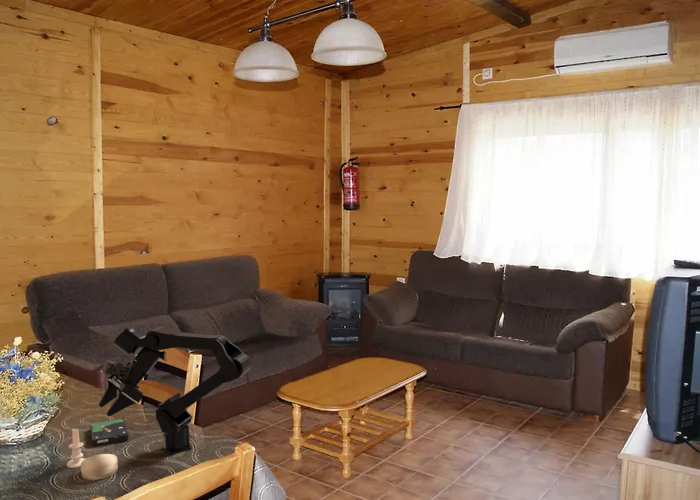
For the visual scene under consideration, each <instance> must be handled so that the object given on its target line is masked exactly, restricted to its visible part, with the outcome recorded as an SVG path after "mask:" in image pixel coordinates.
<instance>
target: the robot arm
mask: <svg viewBox="0 0 700 500" xmlns="http://www.w3.org/2000/svg"><path fill="white" fill-rule="evenodd" d="M113 345H114V346H115V347H117V348H118V349H119V350H120V351H122V352H123V353H124V354H126V355H127V356H129V357H131V356H135V357H134V358H133V359H132V360H131V361H130V360H127V361H126V362H125V364H124V363H123V362H122V361H121V362H119V361H114V360H109V359H106V360H105V362H104V365H103V367H102V370H101V371H102V372H103V373H104V374H106V375H105V377H106V378H105V381H106V388H105V391H104V392H103V395H102V397H101V399H100V401H99V403H98V406H99V407H100V408H103V407H105V406H107V405H108V404H109V403H111V402H112V401H113V402H112V404H110V407H109V409H108V410H107V412H106V413H105V414H106V416H107V417H111V416H113V415H115V414H118V412H121V411H123V410H124V409H126V408H129V407H130V406H133V405H136V404H137V403H138V404H140V402H141V401H142V400H143V399H144V392H142V391H141V390H140V389H139V388H140V387H139V385H140V383H141V382H142V381H143V379H144V378H145V379H147V378H148V377H149V376H150V375H149V372H150V371H151V370H152V368H153V367H154V366H155V365H156V364H157V362H158V361H159V360H162V361H163V362H164V363H167V362H168V359H167V352H166V351H163V350H168V349H174V348H175V349H189V350H201V351H211V352H212V354H213V355H214V357H215V359H216V361H217V364H218V365H219V368H218V370H217V371H216V372H215V373H214V374H212V375H211V376H210V377H209V378H207V379H205V380H204V381H202V382H201V383H200V384H198V385H197V386H196V387H194V388H192V389H191V390H189V391H187V393H185V394H183V395H181V393H180V392H179V391H178V392H176V393H175V394H173V395H172V396H170V397H168V398H167V399H166V400H164V401H162V402H160V403H159V404H158V405H157V407H158V408H157V409H156V410H155V419H156V421H157V422H158V425H159V428H160V430H161V432H162V447H163V448H164V449H165V450H166V451H167V453H169V454H170V455H172V454H176V453H179V452H180V453H181V452H185V451H187V450H188V451H189V450H191V449H192V447H193V446H192V445H191V443H190V429H189V428H190V426H189V425H188V424H190V423H192V420H193V415H192V414H191V413H190V412H189V411H188V410H189V409H190V408H191V407H192V405H194V404H196V402H198V401H199V400H201V399H202V398H204V397H205V396H207V395H208V394H210V393H212V392H213V391H214V390H216V389H217V388H219V387H221V385H225V384H227V383H231V382H234V380H235V381H236V380H238V379H239V378H241V377H242V376H243V375H245V374H246V373H247V372H249V371H250V370H251V368H252V360H251V358H250V356H249V355H248V354H246V353H245V352H243V351H242V349H241V348H240V347H238V346H237V345H236V344H234V343H232V342H231V341H229V338H227V337H226V336H225V335H222V334H217V335H216V334H203V333H190V332H181V331H178V330H177V329H175V328H171V327H168V326H165V325H163V326H159V327H157V328H155V329H152V330H149V331H148V332H147V333H146V334H145V335H141V334H140V333H139V332H137V331H136V330H135V329H134V328H133V327H131V326H127V327H125V328H124V330H123V331H122V332H120V333H119V334H118V336H117V337H115V339H114V342H113Z"/></svg>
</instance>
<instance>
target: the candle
mask: <svg viewBox="0 0 700 500" xmlns="http://www.w3.org/2000/svg"><path fill="white" fill-rule="evenodd" d="M71 430H72V443H70V444H69V445H68V448H69V449H72V450H71V452H72V453H71V455H70V460H69V461H67V463H66V467H67V468H69V469H77V468H81V462H82V461H83V460H85V459H86V458H84V453H82V447H83V446H84V442H82V441H80V433H79V428H76V427H74V428H72V429H71Z"/></svg>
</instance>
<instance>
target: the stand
mask: <svg viewBox="0 0 700 500" xmlns="http://www.w3.org/2000/svg"><path fill="white" fill-rule="evenodd" d="M118 465H119V464H118V457H117V455H115V454H112V453H101V454H100V453H99V454H95V455H92V456H89V457H86V458H85V460H83V461H82V462H81V467H80V473H81V474H80V475H81V478H82V479H84V480H88V481H97V480H102V479H106V478H109V477H111V476H113V475H115V474H116V473H117V472H118V471H119V470H118V469H119V467H118Z"/></svg>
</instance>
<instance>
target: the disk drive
mask: <svg viewBox="0 0 700 500" xmlns="http://www.w3.org/2000/svg"><path fill="white" fill-rule="evenodd" d="M90 433H91V437H90V438H91V445H92V447H93V448H94V447H100V446H105V445H106V446H107V445H111V444H113V445H114V444H119V443H122V442H123V443H125V442H129V441H130V439H129V438H130V437H129V430H128V426H127V423H126V419H125V417H121V418H117V419H116V418H115V419H109V420H108V419H107V420H105V421H100V422H92V423H91V424H90Z"/></svg>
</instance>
